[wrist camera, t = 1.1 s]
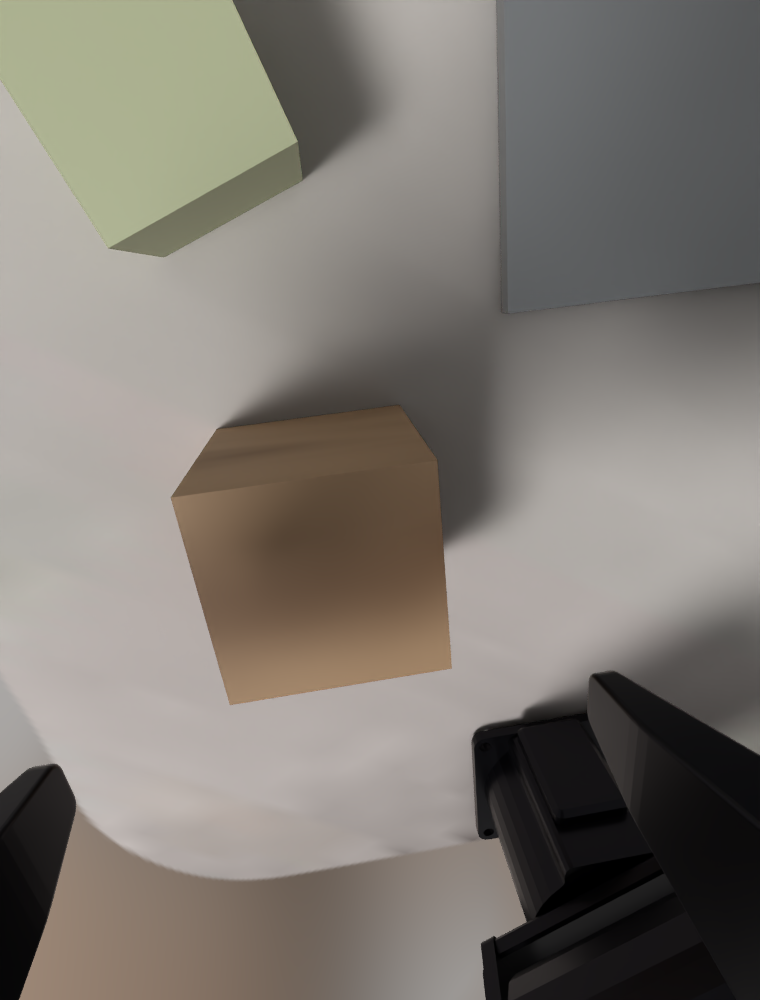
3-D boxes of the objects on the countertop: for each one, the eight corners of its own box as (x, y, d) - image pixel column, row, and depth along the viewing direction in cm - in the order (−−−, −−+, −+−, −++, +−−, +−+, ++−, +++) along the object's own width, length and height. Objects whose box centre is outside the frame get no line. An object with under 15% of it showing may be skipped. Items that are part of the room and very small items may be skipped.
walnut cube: (414, 561, 20) (452, 668, 14) (254, 585, 20) (229, 704, 14) (398, 404, 18) (437, 460, 12) (217, 428, 17) (170, 497, 12)
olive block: (302, 180, 15) (297, 141, 11) (164, 257, 15) (108, 248, 11) (213, -10, 13) (166, -143, 9) (59, 82, 13) (-55, -6, 9)
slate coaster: (883, 265, 18) (901, 265, 17) (501, 312, 17) (507, 313, 16) (1028, -334, 12) (1061, -362, 12) (491, -308, 12) (500, -339, 11)
